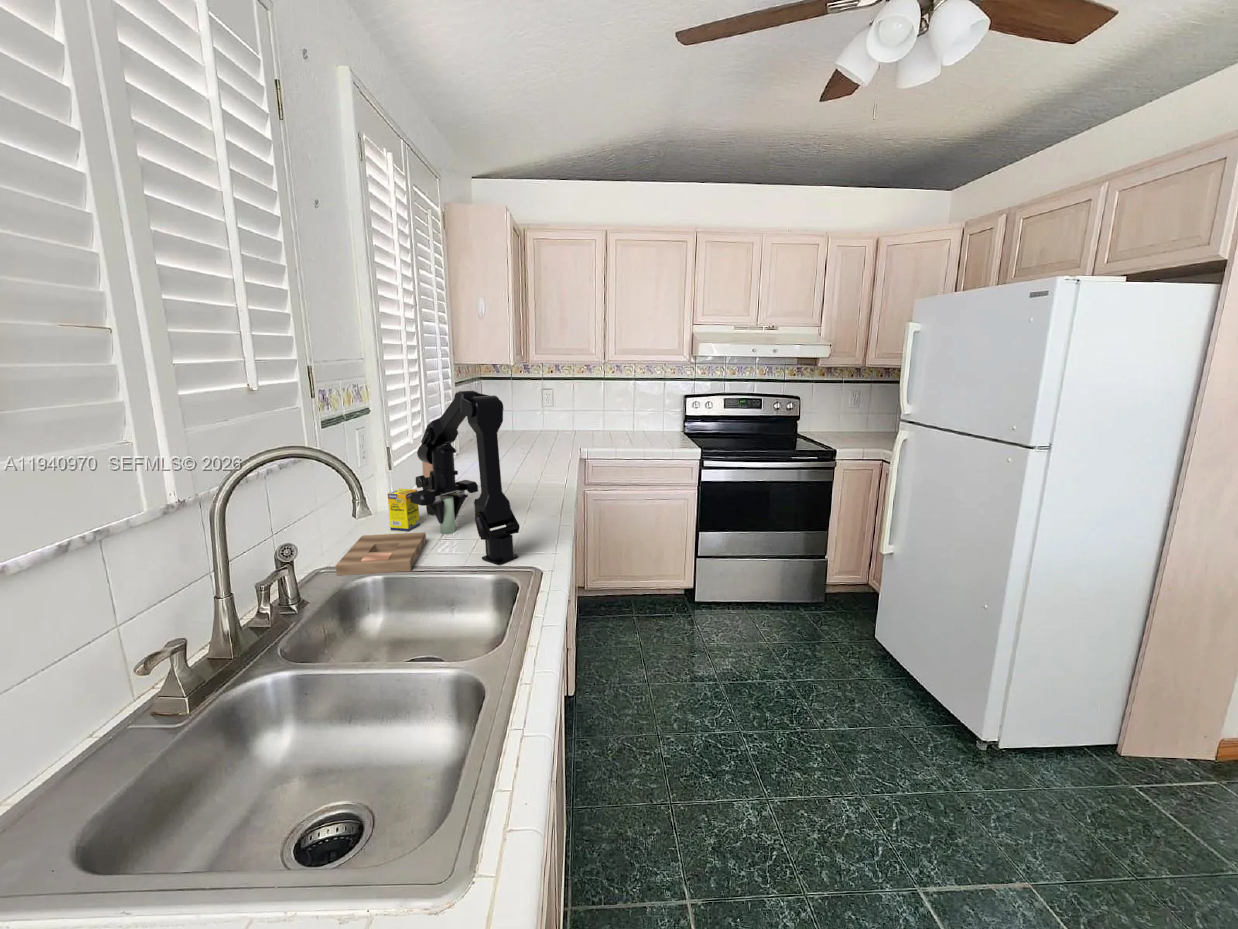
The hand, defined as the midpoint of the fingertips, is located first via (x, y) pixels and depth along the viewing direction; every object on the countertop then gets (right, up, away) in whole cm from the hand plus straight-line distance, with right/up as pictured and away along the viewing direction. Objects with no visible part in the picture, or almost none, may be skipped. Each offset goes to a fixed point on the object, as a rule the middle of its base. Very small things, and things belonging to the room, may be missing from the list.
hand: (447, 521), depth 150 cm
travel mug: (-9, +1, +19) cm, 21 cm away
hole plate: (-10, -7, -18) cm, 21 cm away
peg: (0, -3, +1) cm, 3 cm away
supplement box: (-13, -2, +4) cm, 14 cm away
